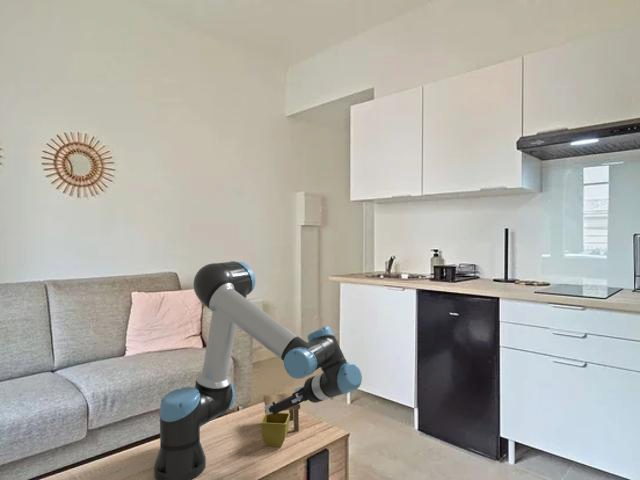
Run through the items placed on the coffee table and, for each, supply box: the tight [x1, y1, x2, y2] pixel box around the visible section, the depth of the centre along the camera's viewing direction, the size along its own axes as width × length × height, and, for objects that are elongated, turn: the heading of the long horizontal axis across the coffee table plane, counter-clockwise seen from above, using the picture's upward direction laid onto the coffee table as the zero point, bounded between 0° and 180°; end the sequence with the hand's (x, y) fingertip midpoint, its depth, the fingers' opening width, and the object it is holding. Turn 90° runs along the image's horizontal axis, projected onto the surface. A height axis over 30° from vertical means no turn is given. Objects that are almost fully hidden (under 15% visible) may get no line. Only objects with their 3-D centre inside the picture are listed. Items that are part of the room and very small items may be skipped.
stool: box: [263, 392, 301, 433], centre depth 155 cm, size 12×12×10 cm
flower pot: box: [260, 412, 290, 448], centre depth 142 cm, size 9×9×9 cm
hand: (281, 401), depth 137 cm, fingers open, 13 cm apart
